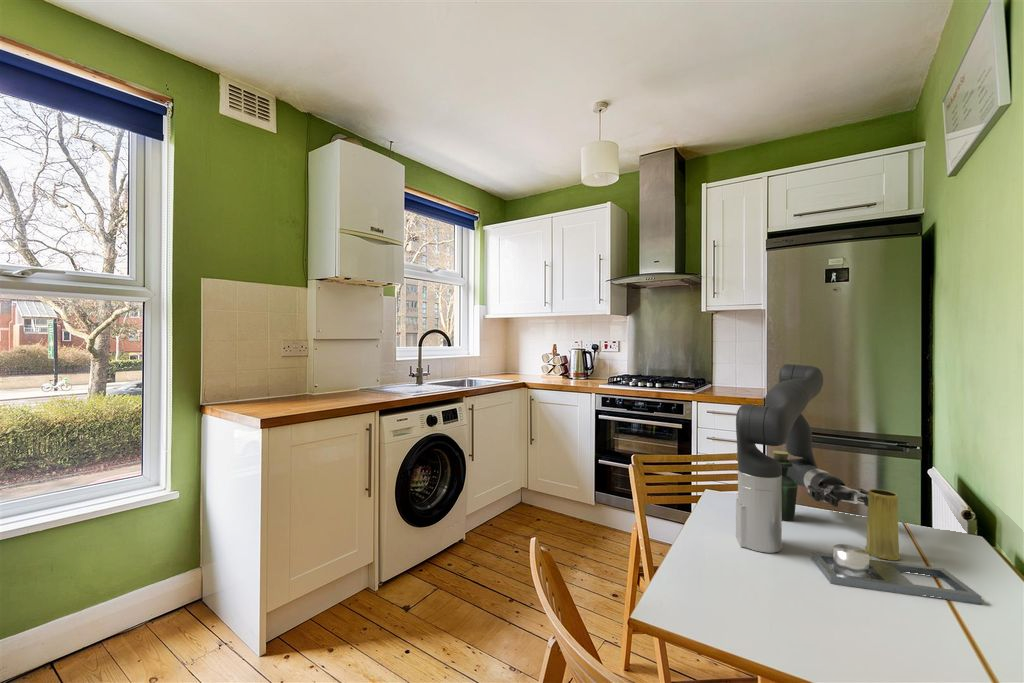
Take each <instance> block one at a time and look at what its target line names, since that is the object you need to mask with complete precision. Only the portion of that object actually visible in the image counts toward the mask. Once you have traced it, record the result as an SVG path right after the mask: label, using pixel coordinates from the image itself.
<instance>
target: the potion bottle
mask: <svg viewBox="0 0 1024 683" xmlns="http://www.w3.org/2000/svg"><path fill="white" fill-rule="evenodd" d="M772 454H773V459H775V460H777V461H778V462H779V463H780V464H781V466H782V520H784V521H783V522H790V520H791V521H793V520H794V519H795V515H796V505H797V497H798V495H797V494H798V486H799V485H797V483H796V481H795V480H793V479H792V478H790V477H789V476H787V471H788V468H789V467H792V466H793V465H792V462H791V461H789V460H787V459H789V457H788V456H789V455H790V454H789V453H788V452H787V451H783V450H773V451H772Z"/></svg>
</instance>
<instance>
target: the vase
mask: <svg viewBox="0 0 1024 683" xmlns="http://www.w3.org/2000/svg"><path fill="white" fill-rule="evenodd" d="M898 498H899V497H898V494H897V493H896V492H893V491H890V490H886V489H880V488H869V489H868V507H867V524H866V547H865V551H867V552H868V553H869V555H870V554H871V556H872V555H873V556H872V557H874V556H876V557H875V558H877V557H879V558H878V559H880V558H883V559H882V560H884V559H888V560H887V561H891V560H896V561H899V560H900V559H901V555H900V542H899V518H898V517H899V515H898V514H899V505H898V504H899V502H898ZM898 559H899V560H898Z"/></svg>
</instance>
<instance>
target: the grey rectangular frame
mask: <svg viewBox="0 0 1024 683" xmlns="http://www.w3.org/2000/svg"><path fill="white" fill-rule="evenodd" d="M832 553H833V554H830V553H823V552H822V553H820V552H813V551H812V552H811V553H810V554H811V560H812V561H813V563H814V564H815V566H816V567H817V568H818V570H820V572H821V573H822V575H824V577H825V578H826V580H827V581H828V582H829V583H830V584H832V585H837V586H838V585H839V586H846V587H852V588H861V589H867V590H874V591H881V590H882V592H888V591H889V593H895V592H899V593H898V594H902V593H908V594H907V595H909V594H916V595H915V596H917V595H926V596H934V597H941V598H944V599H943V600H945V599H947V601H953V602H961V603H966V604H967V603H968V604H975V605H976V604H977V605H982V596H981V595H980V594H979V593H978V592H976V591H975V590H973V589H972V588H971V587H970V586H968V585H967V584H966V583H964V582H963V581H961V580H960V579H958V578H957V577H956V576H954V575H953V574H952V573H951V572H949V571H948V570H946V569H945V568H944V567H943V568H942V567H936V566H927V565H920V564H913V563H912V564H911V563H903V562H902V563H901V562H895V561H894V562H893V561H888V560H879V559H872V558H871V559H870V554H869V553H868V552H867V551H866V549H863V548H861V547H858V546H854V545H851V544H845V543H843V544H841V543H837V544H836V543H835V544H834V545H833V548H832ZM828 564H832V566H833V567H832V568H833V569H832V568H831V567H830V565H828ZM900 572H910V573H918V574H925V575H930V576H929V577H931V576H933V577H932V578H940V579H941V580H942V581H944V582H945V583H946V584H948V585H949V587H951V588H952V589H950V588H943V587H936V586H928V585H921V584H914V583H912V582H911V581H910V580H909V579H908V578H907V577H906V576H904V574H903V573H900ZM870 574H871V575H872V577H873V578H870Z"/></svg>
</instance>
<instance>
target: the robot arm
mask: <svg viewBox="0 0 1024 683" xmlns="http://www.w3.org/2000/svg"><path fill="white" fill-rule="evenodd" d="M823 384H824V375H823V372H822V370H821V369H820V368H819V367H817V366H813V365H806V364H805V365H803V364H790V363H787V364H784V365H782V366H781V368H780V369H779V374H778V383H776V384H775V385H773V386H772V387H771V388H770V389H769V390H768V392H767V393H766V394H765V397H764V405H757V404H742V405H741V406H739V408H737V411H736V418H735V434H736V447H737V448H736V451H737V452H736V453H737V457H736V458H737V498H736V499H735V538H736V541H737V542H738V544H739V546H740V547H742V548H747V549H749V550H753V551H756V552H761V553H769V554H770V553H771V554H773V553H778V552H780V551H782V550H783V549H782V547H783V546H782V542H783V539H782V538H783V535H782V534H783V533H782V532H783V530H782V528H783V527H782V526H783V524H782V522H783V521H782V466H781V464H780V463H779V462H778V461H777V460H775V459H773V458H774V457H773V458H772V457H771V456H769V455H767V454H765V453H763V451H761V450H760V449H759V448H758V447H757V445H761V446H769V447H780V446H783V445H784V444H785V448H786V452H787V453H789V454H788V455H791V456H794V457H798V458H787V460H789V461H791V462H792V465H793V466H792V467H789V468H788V471H787V476H789V477H790V478H792V479H793V480H795V481H796V483H797V485H798V486H802V487H805V488H806V489H807V495H808V497H810V498H812V500H814V501H815V502H821V501H823V502H824V503H827V504H829V505H831V506H832V507H834V508H835V507H836V508H838V507H839V502H843V503H844V502H847V503H851V504H854V505H857V504H861V505H864V506H866V507H867V508H868V491H867V490H866V489H863V488H862V487H861V488H858V489H853V488H850V487H848V486H847V485H846V484H845V483H844V481H843V480H842V479H841V478H839V477H837V476H835V475H833V474H831V473H829V472H828V471H826V470H823V469H820V468H819V467H818V465H817V462H816V459H815V455H814V453H813V432H812V428H811V426H810V424H809V422H808V420H807V419H806V418H805V417H804V415H803V414H802V413H803V411H805V409H806V408H807V406H808V404H809V403H810V401H811V400H813V399H814V398H816V397H817V396H818V395H819V394H820V393H821V391H822V387H823V386H824V385H823Z"/></svg>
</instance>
